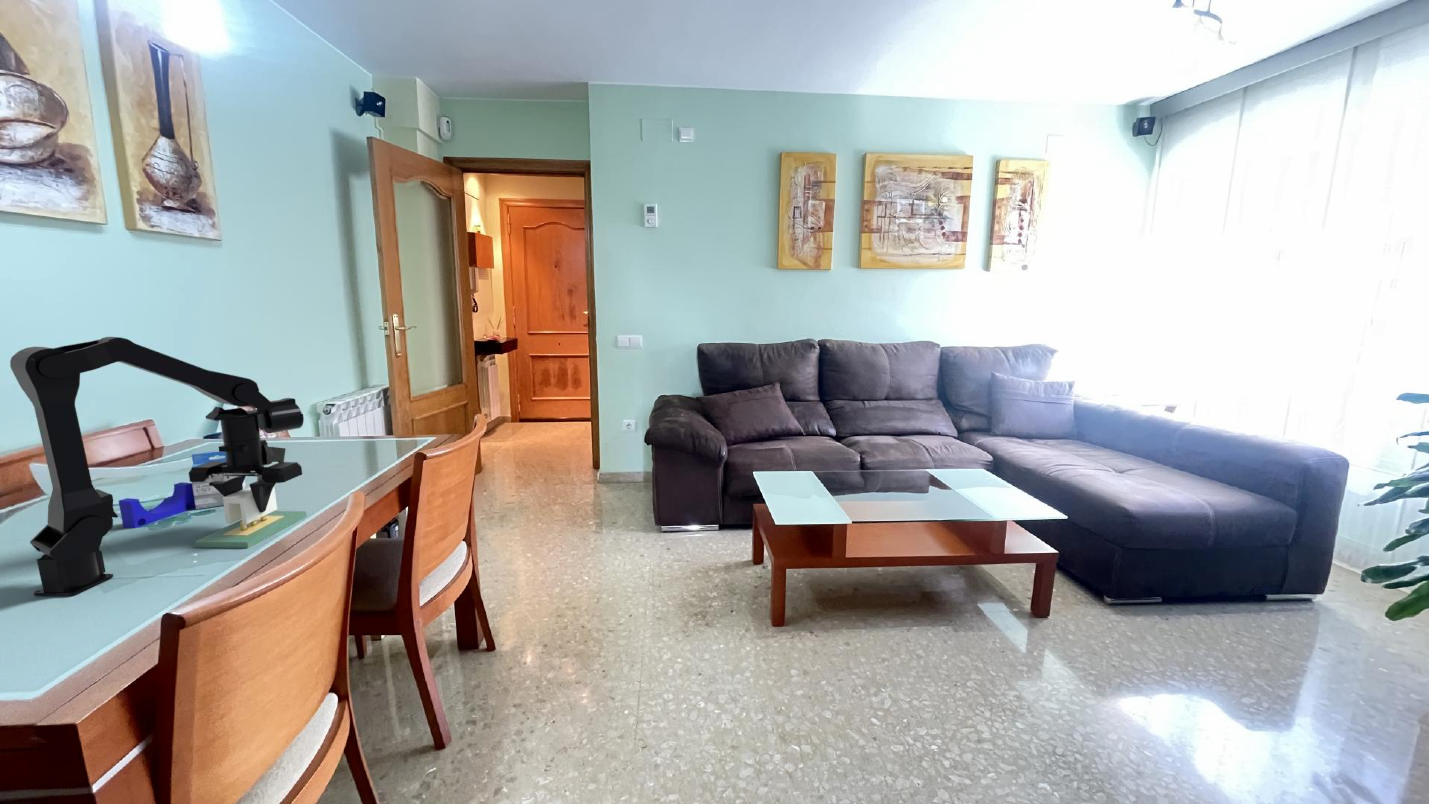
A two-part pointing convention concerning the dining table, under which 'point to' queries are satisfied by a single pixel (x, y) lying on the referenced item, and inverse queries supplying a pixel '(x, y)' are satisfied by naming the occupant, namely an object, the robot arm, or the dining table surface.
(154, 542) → the dining table surface
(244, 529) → the board
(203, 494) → the label tape box
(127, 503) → the blue cradle block
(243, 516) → the box
